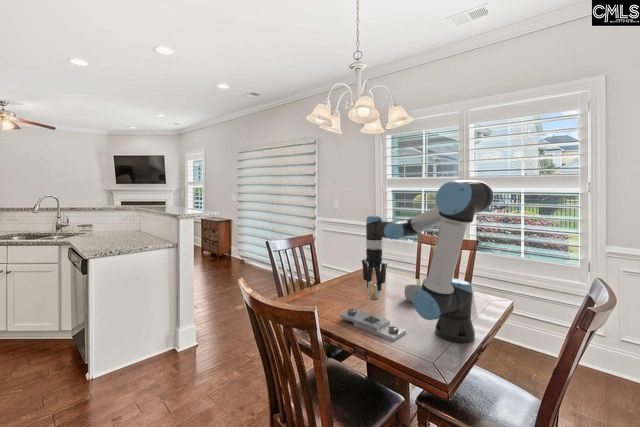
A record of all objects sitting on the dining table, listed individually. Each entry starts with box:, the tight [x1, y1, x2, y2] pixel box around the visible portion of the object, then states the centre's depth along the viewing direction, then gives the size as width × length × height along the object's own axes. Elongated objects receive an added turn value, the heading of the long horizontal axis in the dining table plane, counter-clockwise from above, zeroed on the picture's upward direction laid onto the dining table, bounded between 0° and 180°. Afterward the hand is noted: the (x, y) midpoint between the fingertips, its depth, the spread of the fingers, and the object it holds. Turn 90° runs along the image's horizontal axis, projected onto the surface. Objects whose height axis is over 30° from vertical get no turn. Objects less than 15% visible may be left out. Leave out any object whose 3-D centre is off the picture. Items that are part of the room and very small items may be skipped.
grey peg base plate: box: [339, 307, 407, 342], centre depth 142 cm, size 28×10×4 cm, turn 46°
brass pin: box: [369, 283, 379, 301], centre depth 157 cm, size 4×4×7 cm
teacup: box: [403, 284, 422, 304], centre depth 172 cm, size 14×11×8 cm
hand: (374, 295), depth 157 cm, fingers closed on brass pin, 4 cm apart
